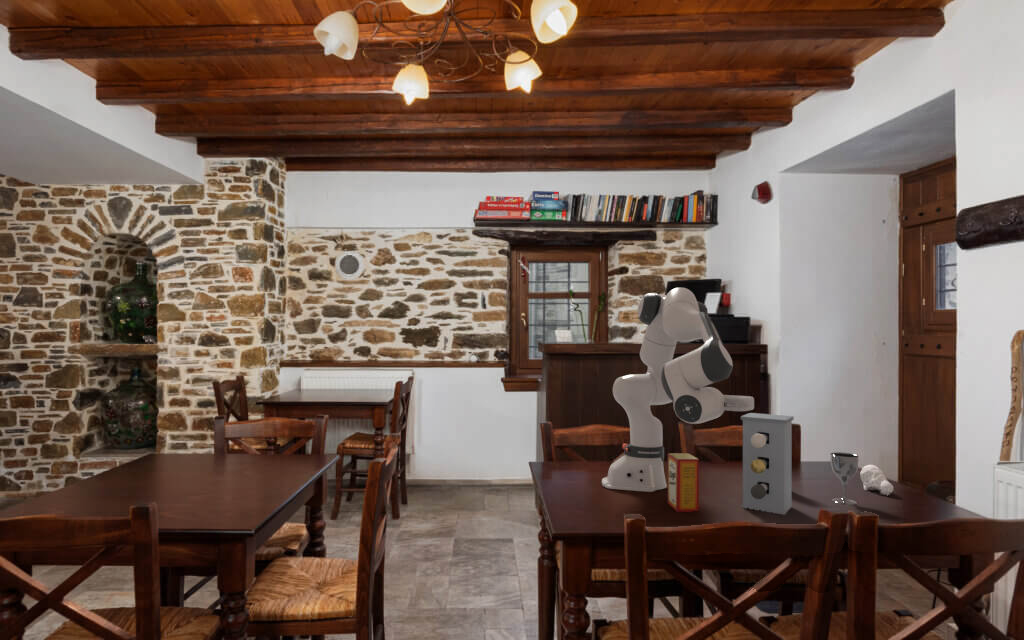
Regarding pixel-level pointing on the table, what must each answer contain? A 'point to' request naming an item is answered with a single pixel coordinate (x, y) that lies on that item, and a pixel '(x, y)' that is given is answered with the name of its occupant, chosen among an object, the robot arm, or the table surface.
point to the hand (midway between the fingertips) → (722, 399)
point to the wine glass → (844, 472)
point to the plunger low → (759, 490)
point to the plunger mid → (759, 465)
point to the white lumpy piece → (875, 479)
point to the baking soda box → (683, 482)
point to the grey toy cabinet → (779, 462)
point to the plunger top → (759, 440)
